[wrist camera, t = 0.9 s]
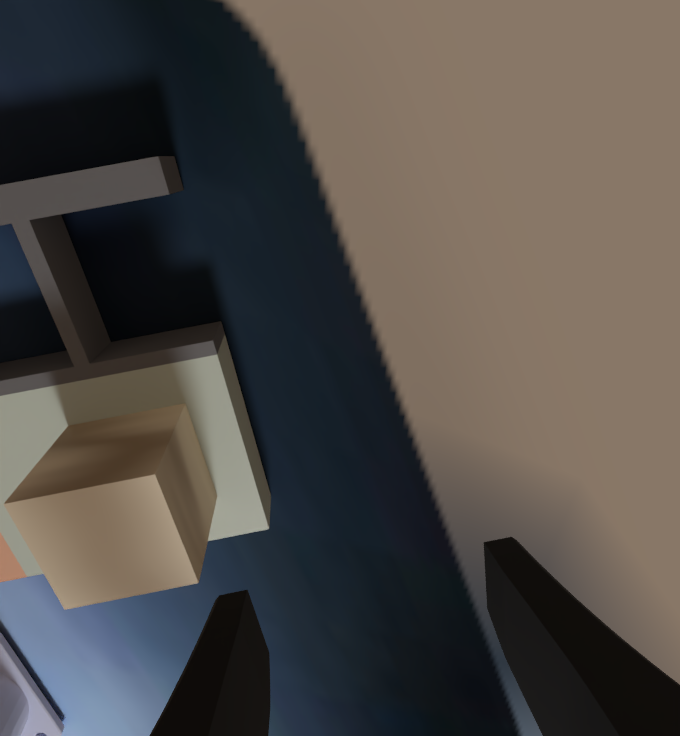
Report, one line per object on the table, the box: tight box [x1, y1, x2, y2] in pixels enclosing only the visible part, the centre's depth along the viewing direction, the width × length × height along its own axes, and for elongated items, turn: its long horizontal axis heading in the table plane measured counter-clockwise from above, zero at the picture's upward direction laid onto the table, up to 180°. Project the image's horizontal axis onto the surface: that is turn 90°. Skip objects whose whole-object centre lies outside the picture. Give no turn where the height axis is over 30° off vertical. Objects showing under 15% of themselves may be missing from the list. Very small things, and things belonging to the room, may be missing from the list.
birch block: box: [4, 403, 217, 610], centre depth 15 cm, size 4×4×4 cm
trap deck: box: [0, 156, 271, 582], centre depth 17 cm, size 14×14×2 cm
